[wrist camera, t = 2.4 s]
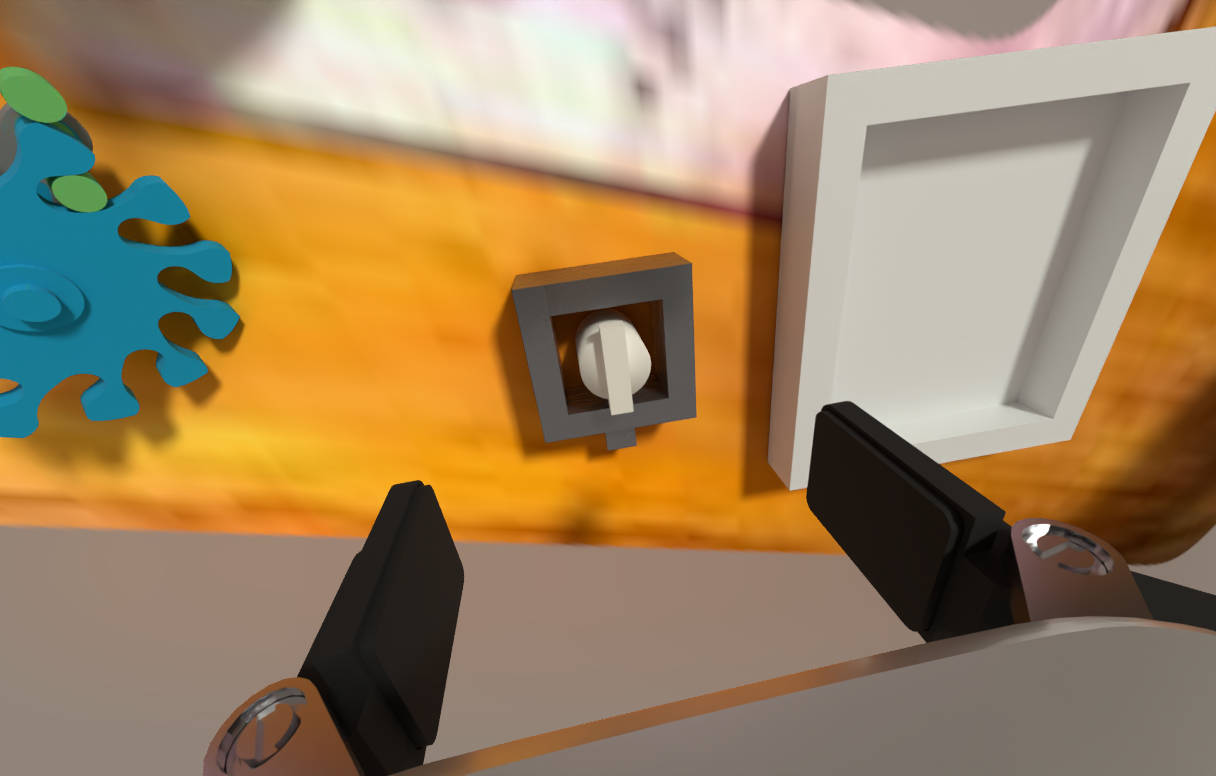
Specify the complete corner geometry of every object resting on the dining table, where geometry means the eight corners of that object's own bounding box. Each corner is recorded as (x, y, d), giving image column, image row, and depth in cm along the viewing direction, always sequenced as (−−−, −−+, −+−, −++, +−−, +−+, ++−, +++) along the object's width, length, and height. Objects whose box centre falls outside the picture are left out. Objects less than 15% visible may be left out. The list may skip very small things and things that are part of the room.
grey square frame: (673, 252, 19) (691, 263, 16) (681, 418, 22) (697, 446, 20) (516, 275, 18) (511, 290, 16) (551, 440, 22) (551, 471, 20)
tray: (1163, 41, 17) (1254, 21, 15) (1024, 416, 25) (1070, 439, 23) (790, 88, 16) (828, 75, 14) (767, 461, 24) (789, 490, 22)
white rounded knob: (631, 295, 19) (650, 322, 16) (638, 368, 21) (656, 407, 17) (569, 305, 19) (574, 334, 16) (581, 378, 21) (587, 419, 17)
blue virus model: (208, 439, 18) (-392, 467, 9) (166, 371, 21) (-336, 342, 12) (290, 184, 16) (-405, -98, 7) (230, 143, 18) (-333, -101, 10)
